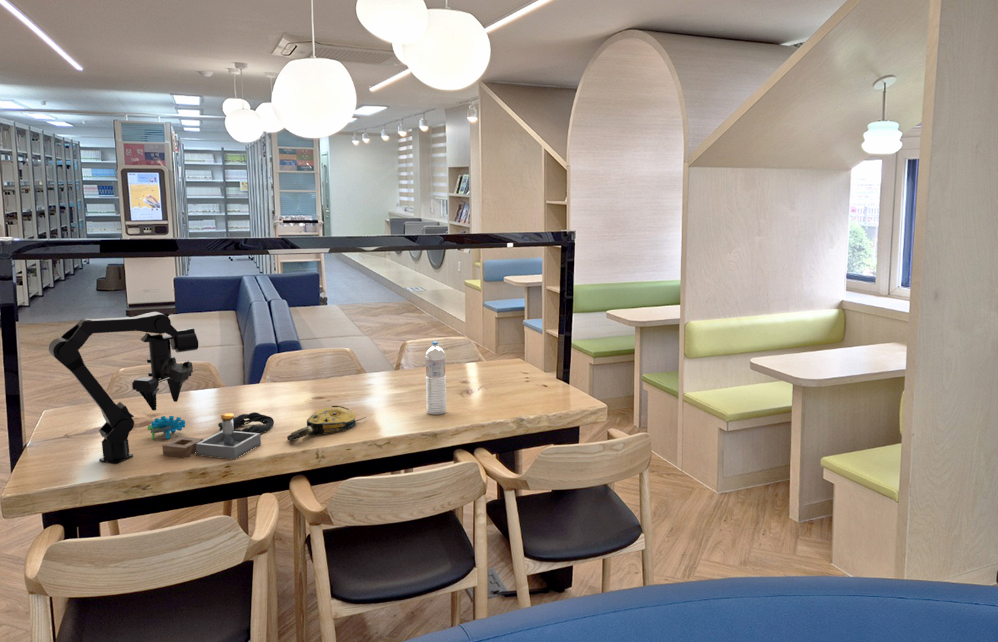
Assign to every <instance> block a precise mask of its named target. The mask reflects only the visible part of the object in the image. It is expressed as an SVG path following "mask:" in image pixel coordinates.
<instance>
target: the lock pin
mask: <svg viewBox="0 0 998 642" xmlns="http://www.w3.org/2000/svg"><path fill="white" fill-rule="evenodd" d="M233 418H235V415H234V413H233V412H226V413H222V414H221V415H220V420H222V422H221V423H222V425H223V441H224V445H225V446H235V444H234V428H233Z"/></svg>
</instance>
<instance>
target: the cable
mask: <svg viewBox="0 0 998 642" xmlns="http://www.w3.org/2000/svg"><path fill="white" fill-rule="evenodd" d="M258 422H259V423H260V424H261V423H262V424H264V425H251V426H249V427H244V428H243V429H239V428H241V427H243V426H246V425H249V424H250V423H258ZM274 424H275V421H274V418H273V417H271V416H269V415H265V414H261V413H259V412H250V413H243V414H240V415H237V416H234V418H233V428H234V431H239V432H250V433H260V435H262V434H263V433H266V432H268V431H269V430H271V428H272V427H273V426H274ZM217 426H218V427H219V432H220V431H222V430H223V425H222V422H219V423H218V425H217Z"/></svg>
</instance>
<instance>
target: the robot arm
mask: <svg viewBox="0 0 998 642" xmlns="http://www.w3.org/2000/svg"><path fill="white" fill-rule="evenodd" d="M119 332H120V333H121V332H123V333H124V332H141V333H142V332H144V336H142V337H141V338H140V341H141V342H143V343H148V346H149V347H148V348H149V358H148V359H146V362H147V364H150V370H151V372H148V373H147V374H148V377H146V376H145V377H144V376H143V377H138V378H137V379H134V380H133V381H132V383H131V385H132V387H131V388H132V390H133V391H136V392H137V393H140V395H141V396H142V397H143V399H144V400H145V402H146V403H147V404H148V406H149V407H150V409H151V411H157V393H158V392H159V390H160V388H159V385H160V384H159V383H162V382H165V381H166V382H167V384H168V385H167V386H168V387H169V391H170V395H171V398H172V400H173V402H175V403H177V402H178V400H179V397H180V393H181V389H182V387H183V384H184V383H185V382H186V381H187V380H189V378H190V377H191V376H192V373H193V372H194V371H193V367H194V366H193V363H192V362H191V361H189V360H187V361H184V362H183V363H182V362H181V363H177V360H176V357H175V356H172V351H175V352H176V353H184V352H191V351H198V349H199V339H198V337H197V334H196V332H195V328H193V327H188V328H183V329H176V328H175V327H174V326H173V325H172V321H171V319H170V317H169V316H168V315H167V314H164V313H161V312H159V311H151V312H147V313H142V314H138V315H136V316H131V317H130V316H129V317H125V316H124V317H107V318H106V317H105V318H104V317H103V318H82V319H80V320H79V321H78V322H77V323H76V324H75V325H74V326H73V327H72V328H69V330H67V331H66V332H64V333H63V334H62V335H61V336H60V337H57V338H54V339H53V340H52V341H50V342H49V345H48V352H49V354H50V355H51V356H52V357H53V358H54V359H56V360H57V361H58V362H59V363H60V364H61V365H62V366H64V367H65V368H66V369H67V370H69V372H70V373H71V374H72V375H73V376H74V377H75V379H76V380H77V381H78V382H79V384H80V385H81V386H82V387H83V390H85V391H86V392H87V394H88V395H89V396H90V398H91V399H92V400H93V401H94V403H95V404H96V405H97V407H98V408H99V409H100V411H101V413H102V417H103V419H104V420H105V423H104V424H103V425H102V427H100V428H99V430H98V431H99V434H100V435H101V437H102V438H103V440H101V449H102V457H101V458H100V459H99V460H98V462H102V463H111V464H118V463H122V462H124V461H126V460H127V459H130V458H132V457H134V454H133V453H130V445H129V439H128V438H129V435H130V432H131V431H133V429H134V426H135V421H134V419H133V418H134V417H135V415H133V414H132V413H131V412H130V411H129V410H128V407H127V406H126V405H125V404H124V403H122V401H119V402H118V403H117V404H116V403H115V402H114V400H113V399H112V398H111V397H110V396H109V394H108V393H107V391H106V390H105V388H104V387H102V386H103V385H101V384H100V382H99V381H98V380H97V379H96V377H95V376H94V375H93V374H92V372H91V371H90V370H89V368H87V366H86V364H85V362H84V359H83V357H82V354H81V352H80V349H82V347H83V346H84V345H85V344H86V342H87V341H88V339H89V338H90V337H91V336H92V335H93V334H102V333H103V334H104V333H119ZM162 334H167V335H162Z"/></svg>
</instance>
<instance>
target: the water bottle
mask: <svg viewBox="0 0 998 642" xmlns="http://www.w3.org/2000/svg"><path fill="white" fill-rule="evenodd" d="M438 343H439V341H432V346H431V347H429V349H427V351H426V352H425V355H424V356H425V393H426V394H425V395H426V400H425V401H426V403H425V404H426V412H427V414H428V415H433V416H438V415H439V416H440V415H443V414H445V413H446V412H447V387H446V386H447V384H446V382H447V379H446V377H447V376H446V353H445V351H444V350H443V349H442V348H441V347H440V346H439V344H438Z"/></svg>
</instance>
